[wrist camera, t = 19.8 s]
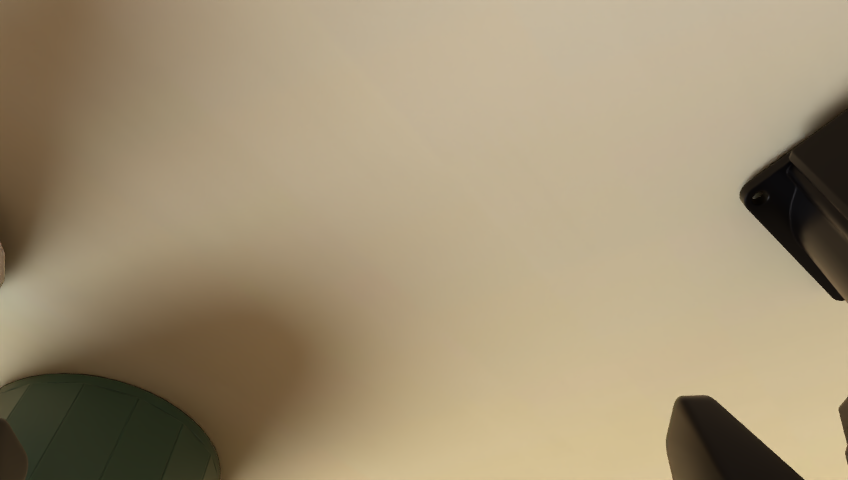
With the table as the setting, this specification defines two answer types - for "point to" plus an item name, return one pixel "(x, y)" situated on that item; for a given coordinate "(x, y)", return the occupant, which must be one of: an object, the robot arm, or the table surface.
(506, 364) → the table surface
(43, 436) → the pot
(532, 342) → the table surface
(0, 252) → the can
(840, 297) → the robot arm
